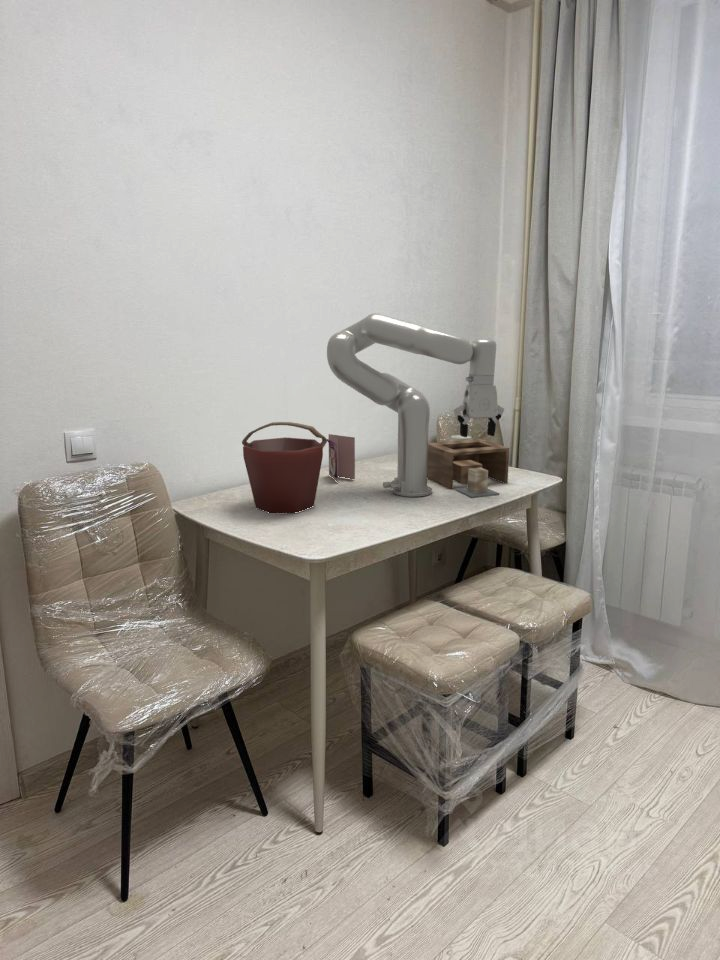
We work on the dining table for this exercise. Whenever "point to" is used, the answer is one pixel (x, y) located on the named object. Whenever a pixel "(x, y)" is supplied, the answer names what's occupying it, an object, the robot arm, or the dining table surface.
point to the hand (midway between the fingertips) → (477, 435)
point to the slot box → (466, 460)
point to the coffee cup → (460, 438)
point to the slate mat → (474, 495)
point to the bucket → (284, 470)
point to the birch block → (477, 480)
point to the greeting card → (341, 456)
